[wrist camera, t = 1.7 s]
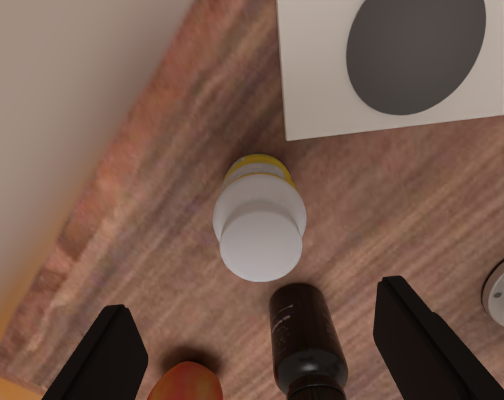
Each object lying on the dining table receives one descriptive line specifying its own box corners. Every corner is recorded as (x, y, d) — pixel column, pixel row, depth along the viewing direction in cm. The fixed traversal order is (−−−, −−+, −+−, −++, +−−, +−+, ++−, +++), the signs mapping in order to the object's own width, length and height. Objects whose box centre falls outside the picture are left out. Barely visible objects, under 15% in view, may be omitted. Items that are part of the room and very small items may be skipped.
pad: (496, -49, 17) (501, -52, 17) (466, 107, 21) (470, 107, 20) (347, -26, 18) (349, -29, 17) (344, 122, 21) (346, 122, 21)
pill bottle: (269, 223, 26) (281, 310, 16) (213, 196, 25) (185, 269, 15) (303, 170, 24) (343, 229, 14) (243, 138, 23) (235, 174, 12)
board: (558, -70, 18) (579, -81, 16) (512, 111, 22) (526, 112, 21) (273, -26, 19) (275, -33, 17) (285, 138, 23) (286, 141, 22)
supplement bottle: (269, 281, 29) (279, 394, 18) (328, 282, 29) (373, 395, 18) (267, 325, 32) (275, 446, 21) (321, 325, 32) (358, 447, 21)
